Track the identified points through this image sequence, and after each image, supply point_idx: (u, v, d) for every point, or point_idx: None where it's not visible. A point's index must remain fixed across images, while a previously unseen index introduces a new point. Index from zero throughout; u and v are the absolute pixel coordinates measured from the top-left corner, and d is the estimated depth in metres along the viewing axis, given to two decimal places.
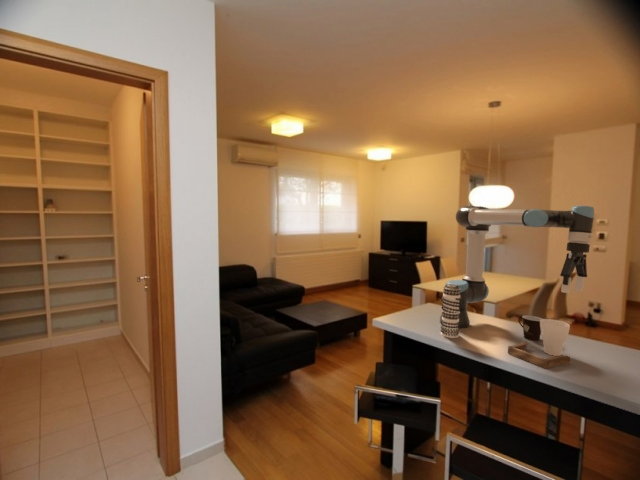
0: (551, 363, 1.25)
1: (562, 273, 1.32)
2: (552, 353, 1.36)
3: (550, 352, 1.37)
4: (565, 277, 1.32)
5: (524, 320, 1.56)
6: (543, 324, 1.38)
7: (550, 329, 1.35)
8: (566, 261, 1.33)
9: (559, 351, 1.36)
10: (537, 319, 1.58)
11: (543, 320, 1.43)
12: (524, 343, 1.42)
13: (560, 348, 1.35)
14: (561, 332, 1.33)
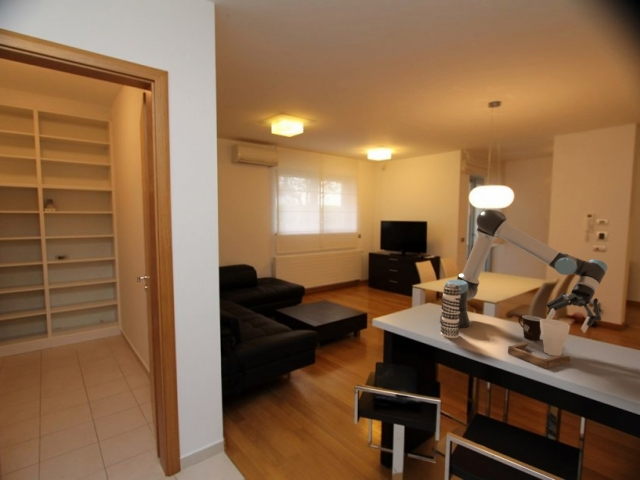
0: (551, 363, 1.25)
1: (599, 316, 1.33)
2: (552, 353, 1.36)
3: (550, 352, 1.37)
4: (593, 319, 1.34)
5: (524, 320, 1.56)
6: (543, 324, 1.38)
7: (550, 329, 1.35)
8: (597, 306, 1.36)
9: (559, 351, 1.36)
10: (537, 319, 1.58)
11: (543, 320, 1.43)
12: (524, 343, 1.42)
13: (560, 348, 1.35)
14: (561, 332, 1.33)
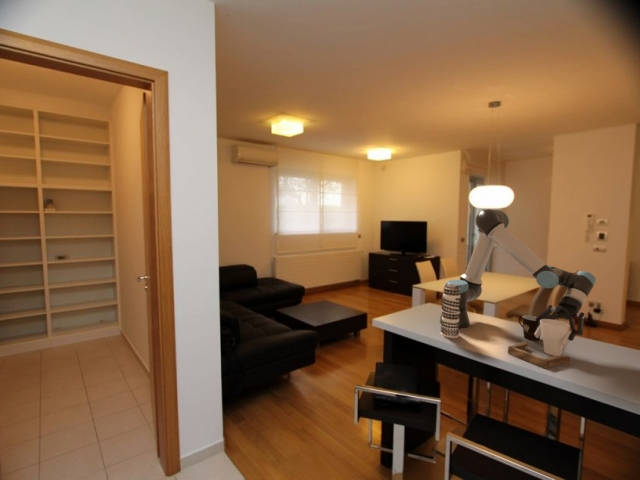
0: (551, 363, 1.25)
1: (580, 331, 1.31)
2: (552, 353, 1.36)
3: (550, 352, 1.37)
4: (575, 334, 1.33)
5: (524, 320, 1.56)
6: (543, 324, 1.38)
7: (550, 329, 1.35)
8: (582, 320, 1.34)
9: (559, 351, 1.36)
10: None
11: (543, 320, 1.43)
12: (524, 343, 1.42)
13: (560, 348, 1.35)
14: (561, 332, 1.33)
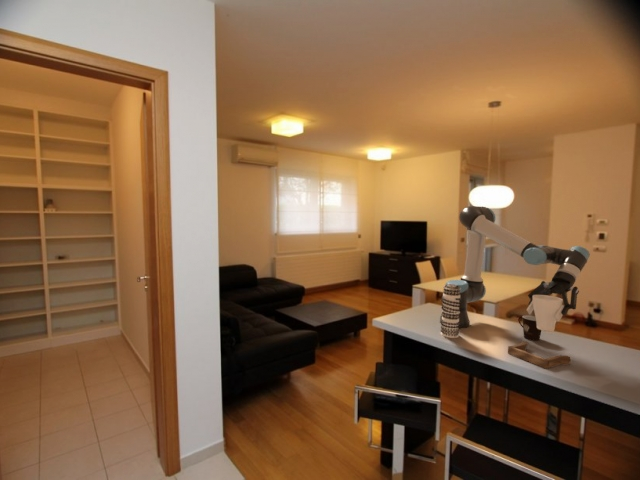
0: (551, 363, 1.25)
1: (574, 305, 1.28)
2: (545, 328, 1.33)
3: (543, 328, 1.33)
4: (568, 308, 1.29)
5: (524, 320, 1.56)
6: (535, 299, 1.34)
7: (542, 304, 1.31)
8: (575, 294, 1.30)
9: (552, 326, 1.32)
10: None
11: (536, 296, 1.39)
12: (524, 343, 1.42)
13: (553, 323, 1.32)
14: (554, 306, 1.30)
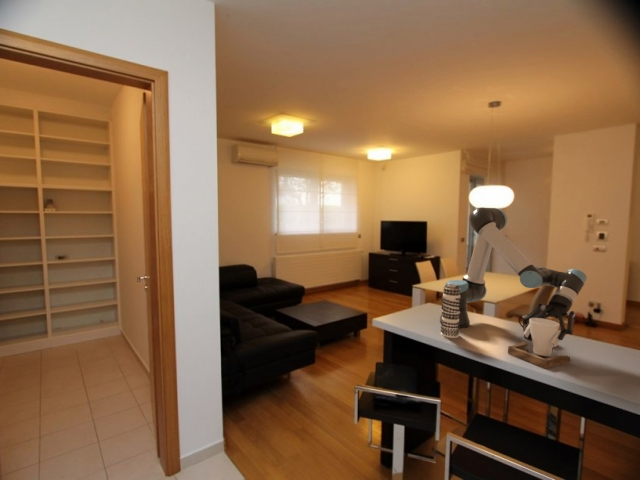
0: (551, 363, 1.25)
1: (570, 330, 1.28)
2: (541, 353, 1.33)
3: (539, 352, 1.33)
4: (565, 333, 1.29)
5: (524, 320, 1.56)
6: (532, 323, 1.34)
7: (539, 329, 1.32)
8: (572, 319, 1.31)
9: (549, 351, 1.32)
10: None
11: (533, 319, 1.39)
12: (524, 343, 1.42)
13: (550, 348, 1.32)
14: (550, 331, 1.30)
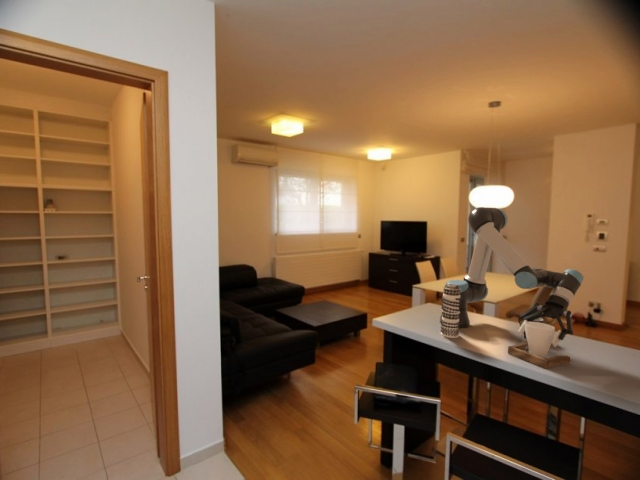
0: (551, 363, 1.25)
1: (571, 330, 1.26)
2: None
3: None
4: (565, 333, 1.27)
5: None
6: (528, 327, 1.33)
7: (534, 332, 1.31)
8: (570, 319, 1.29)
9: (544, 355, 1.31)
10: (537, 319, 1.58)
11: (528, 323, 1.38)
12: (524, 343, 1.42)
13: (545, 352, 1.31)
14: (546, 335, 1.29)
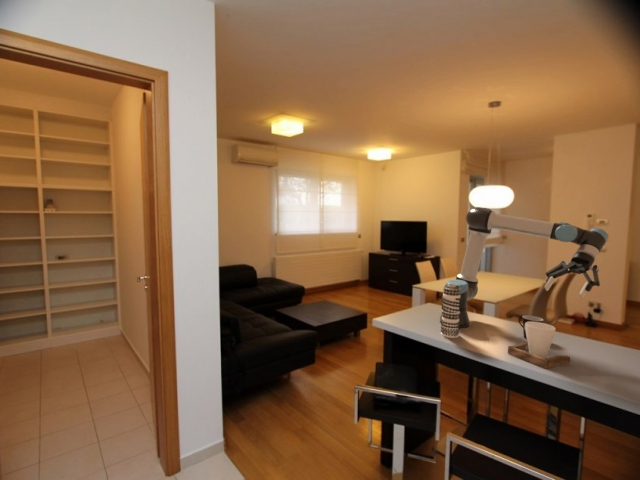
0: (551, 363, 1.25)
1: (598, 282, 1.32)
2: None
3: None
4: (592, 285, 1.33)
5: (524, 320, 1.56)
6: (528, 327, 1.33)
7: (535, 332, 1.31)
8: (596, 272, 1.35)
9: (544, 355, 1.31)
10: (537, 319, 1.58)
11: (529, 323, 1.38)
12: (524, 343, 1.42)
13: (545, 352, 1.31)
14: (546, 335, 1.29)
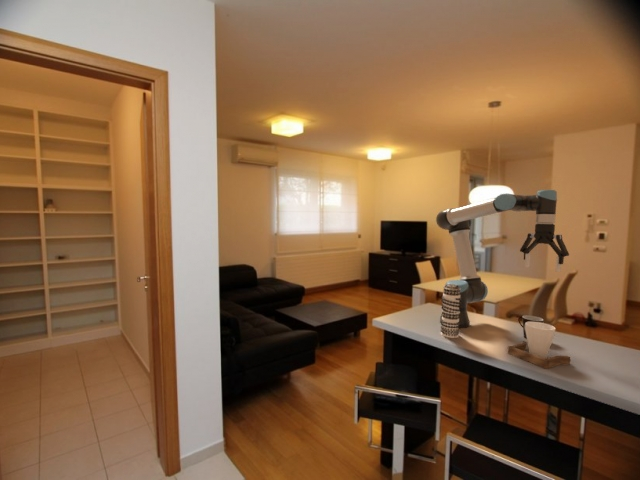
0: (551, 363, 1.25)
1: (566, 254, 1.40)
2: None
3: None
4: (563, 257, 1.42)
5: (524, 320, 1.56)
6: (528, 327, 1.33)
7: (534, 332, 1.31)
8: (561, 242, 1.42)
9: (544, 355, 1.31)
10: (537, 319, 1.58)
11: (529, 323, 1.38)
12: (524, 343, 1.42)
13: (545, 352, 1.31)
14: (546, 335, 1.29)
